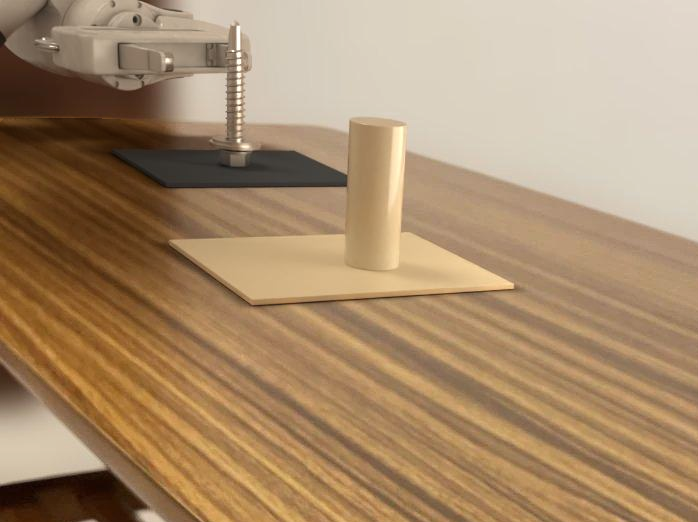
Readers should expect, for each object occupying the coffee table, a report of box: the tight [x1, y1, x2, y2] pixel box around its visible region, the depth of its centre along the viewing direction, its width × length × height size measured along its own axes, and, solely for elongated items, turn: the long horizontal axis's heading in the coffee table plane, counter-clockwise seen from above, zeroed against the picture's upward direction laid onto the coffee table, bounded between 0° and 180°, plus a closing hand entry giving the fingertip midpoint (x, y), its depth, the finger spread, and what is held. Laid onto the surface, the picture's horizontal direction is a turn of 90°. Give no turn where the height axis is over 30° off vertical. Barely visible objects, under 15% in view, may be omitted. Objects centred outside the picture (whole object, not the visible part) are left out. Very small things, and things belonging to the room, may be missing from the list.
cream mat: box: [168, 231, 515, 306], centre depth 90 cm, size 20×16×1 cm
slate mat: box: [111, 148, 347, 188], centre depth 119 cm, size 19×16×1 cm
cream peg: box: [344, 116, 408, 271], centre depth 88 cm, size 4×4×10 cm
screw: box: [208, 20, 262, 167], centre depth 116 cm, size 13×5×5 cm
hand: (208, 62), depth 118 cm, fingers open, 8 cm apart
